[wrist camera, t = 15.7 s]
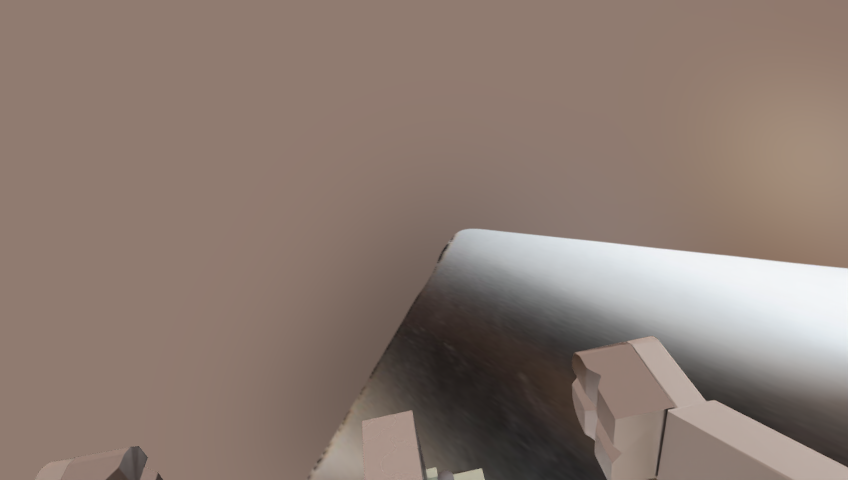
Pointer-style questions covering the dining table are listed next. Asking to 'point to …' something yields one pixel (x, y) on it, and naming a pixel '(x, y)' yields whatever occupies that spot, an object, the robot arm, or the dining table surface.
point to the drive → (392, 448)
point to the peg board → (455, 475)
